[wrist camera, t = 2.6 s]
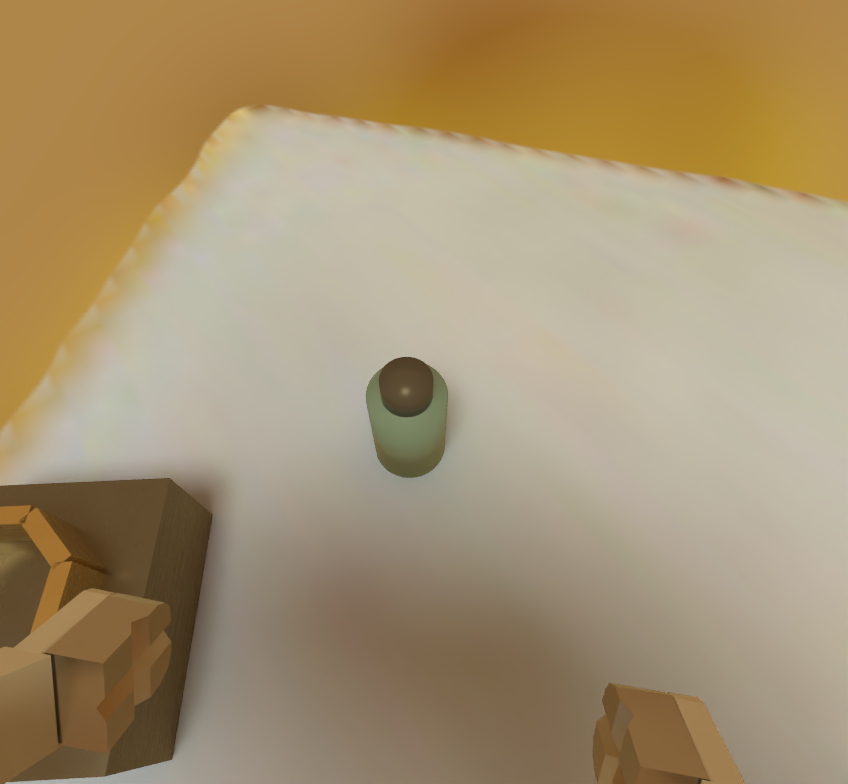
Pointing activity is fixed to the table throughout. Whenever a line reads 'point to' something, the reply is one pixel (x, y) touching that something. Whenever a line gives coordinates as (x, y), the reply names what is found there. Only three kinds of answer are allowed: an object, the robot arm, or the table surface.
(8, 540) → the octagon ring base
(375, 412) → the bottle
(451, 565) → the table surface
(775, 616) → the table surface
